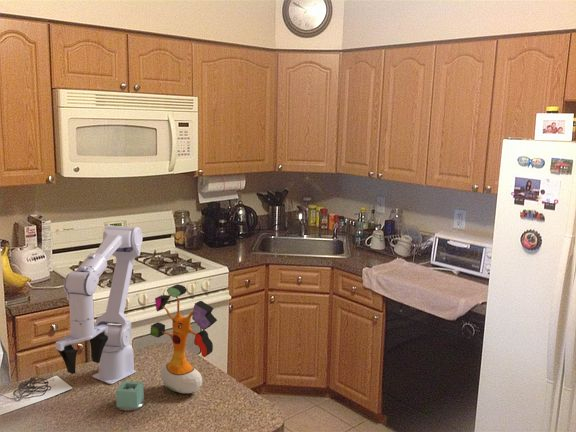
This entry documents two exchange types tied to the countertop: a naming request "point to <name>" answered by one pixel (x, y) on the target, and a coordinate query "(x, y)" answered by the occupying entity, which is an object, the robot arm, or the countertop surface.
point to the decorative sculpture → (183, 342)
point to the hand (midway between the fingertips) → (84, 367)
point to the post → (132, 408)
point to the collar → (130, 394)
